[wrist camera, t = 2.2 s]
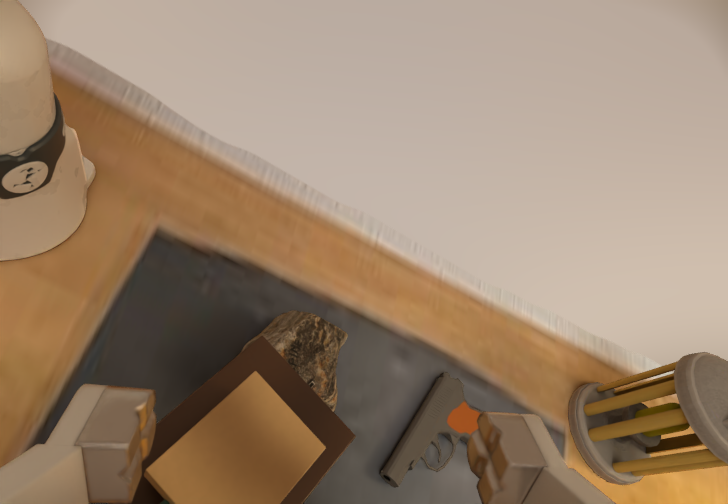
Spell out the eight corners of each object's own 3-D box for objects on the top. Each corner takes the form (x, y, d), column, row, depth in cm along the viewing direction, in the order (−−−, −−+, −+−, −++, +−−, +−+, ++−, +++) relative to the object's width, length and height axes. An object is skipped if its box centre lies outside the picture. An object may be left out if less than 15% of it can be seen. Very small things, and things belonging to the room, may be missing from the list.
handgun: (455, 548, 50) (376, 472, 51) (505, 433, 60) (438, 371, 61) (465, 548, 49) (383, 470, 49) (514, 431, 59) (446, 367, 60)
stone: (312, 471, 45) (283, 405, 39) (234, 441, 49) (198, 379, 44) (370, 369, 54) (353, 305, 49) (299, 352, 59) (277, 292, 54)
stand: (108, 504, 40) (99, 471, 20) (201, 419, 46) (262, 334, 27) (168, 574, 39) (219, 610, 20) (255, 479, 45) (356, 436, 26)
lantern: (592, 367, 74) (759, 307, 55) (653, 443, 71) (851, 408, 52) (553, 419, 65) (735, 369, 46) (621, 508, 62) (844, 494, 43)
